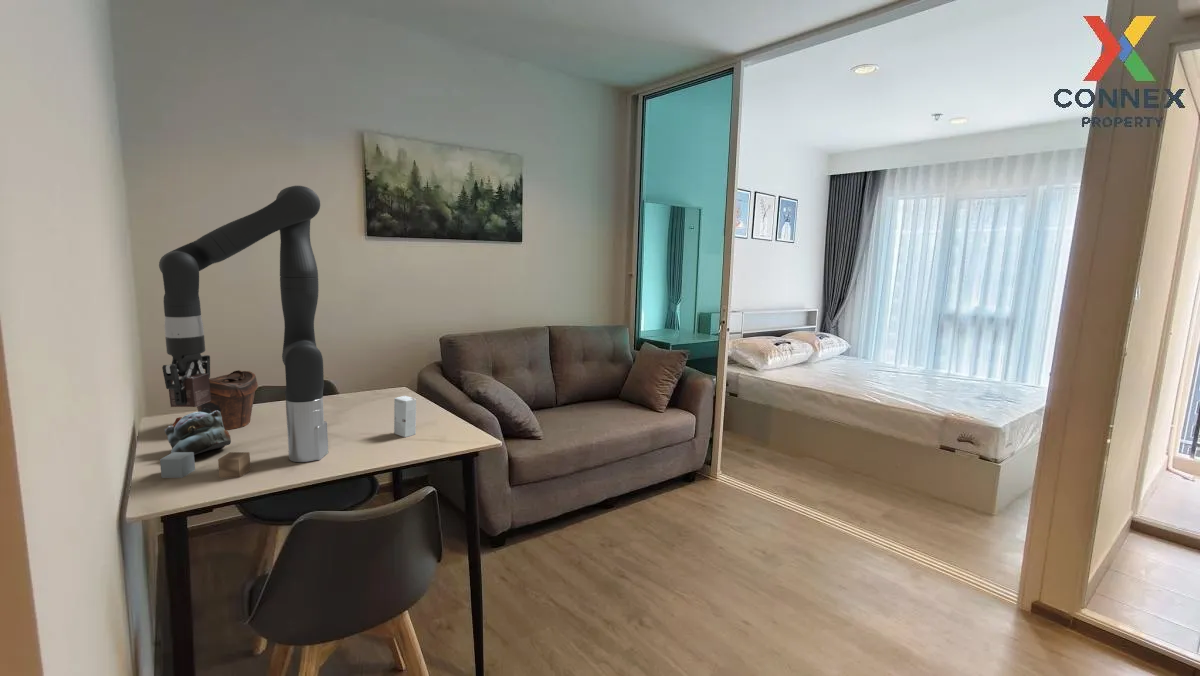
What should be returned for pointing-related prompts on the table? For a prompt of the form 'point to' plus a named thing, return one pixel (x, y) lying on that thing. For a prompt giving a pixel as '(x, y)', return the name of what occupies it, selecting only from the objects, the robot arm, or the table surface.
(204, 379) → the box
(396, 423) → the skincare box
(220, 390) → the brown wooden container
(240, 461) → the walnut block
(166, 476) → the grey block
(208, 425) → the grey-blue rounded figure
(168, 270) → the robot arm
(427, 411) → the table surface
